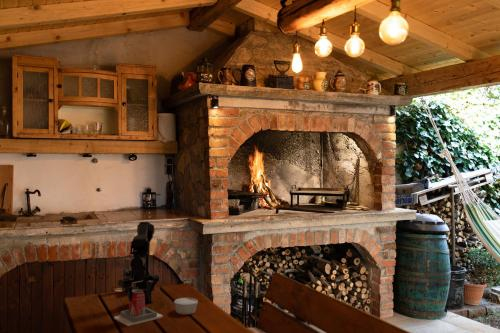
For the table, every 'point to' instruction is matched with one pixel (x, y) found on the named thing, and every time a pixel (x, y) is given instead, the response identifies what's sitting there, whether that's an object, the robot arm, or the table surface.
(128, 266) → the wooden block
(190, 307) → the ramekin
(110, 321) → the table surface
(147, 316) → the holder board
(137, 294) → the soda can
